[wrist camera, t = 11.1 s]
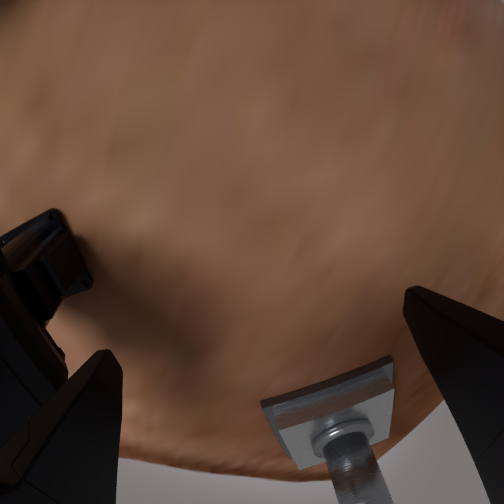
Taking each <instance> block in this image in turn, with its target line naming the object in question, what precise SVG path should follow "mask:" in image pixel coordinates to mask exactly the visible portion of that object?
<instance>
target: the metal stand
mask: <svg viewBox="0 0 504 504" xmlns="http://www.w3.org/2000/svg"><path fill="white" fill-rule="evenodd" d="M392 377H393V360H392V359H391V357H390V356H387V357H384V358H382V359H380V360H377V361H375V362H372V363H370V364H368V365H365V366H363V367H360V368H358V369H355V370H353V371H350V372H347V373H345V374H342V375H339V376H337V377H334V378H331V379H328V380H326V381H323V382H320V383H317V384H314V385H311V386H308V387H305V388H302V389H299V390H296V391H293V392H289V393H286V394H283V395H280V396H276V397H273V398H269V399H266V400H262V401H260V402H261V407H262V410H263V412H264V414H265V416H266V418H267V420H268V421H269V423H270V425H271V427H272V429H273V431H274V433H275V435H276V436H277V438H278V440H279V442H280V444H281V446H282V448H283V449H284V451H285V453H286V455H287V457H288V458H289V459H291V458H293V460H294V462H295V463H296V465H297V467H298V469H299V470H301V469H304V468H307V467H311V466H314V465H317V464H321V463H324V462H326V460H325V459H323V458H318V457H316V456H315V455H314V453H313V450H312V446H311V444H312V441H313V440H314V438H315V437H316V436H317V435H319V434H320V433H321V432H323V431H324V430H326V429H328V428H330V427H332V426H334V425H336V424H339V423H342V422H345V421H349V420H354V419H365V420H368V421H370V422H371V424H372V427H373V429H374V436H373V437H372V439H371V440H370V441H369V443H370V445H373V444H375V443H377V442H380V441H382V440H384V439H387V438H389V432H390V425H391V417H392V409H393V399H394V389H395V388H394V386H393V385H392Z"/></svg>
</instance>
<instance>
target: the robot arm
mask: <svg viewBox="0 0 504 504" xmlns="http://www.w3.org/2000/svg"><path fill="white" fill-rule="evenodd" d="M50 214H53V215H54V219H53V218H52V217H51V215H50ZM3 241H4V242H5V244H4V243H3ZM85 281H87V282H88V283H89V284H87V283H85ZM92 285H93V279H92V277H91V275H90V273H89V272H88V270H87V268H86V266H85V262H84V260H83V258H82V256H81V254H80V252H79V250H78V248H77V246H76V244H75V242H74V240H73V238H72V236H71V234H70V233H68V231H67V229H66V227H65V225H64V223H63V221H62V218H61V216H60V214H59V212H58V211H57V210H56V209H54V208H51V209H49V210H47V211H45V212H43V213H41V214H40V215H38V216H36V217H34V218H32V219H30V220H28V221H27V222H25V223H23V224H21V225H19V226H18V227H16V228H14V229H12V230H11V231H9V232H7V233H6V234H4V235H2V236H1V237H0V504H116V485H117V467H118V454H119V442H120V432H121V422H122V388H123V371H122V368H121V366H120V364H119V363H118V361H117V359H116V358H115V356H114V355H113V353H112V351H111V350H109V349H104V350H98V351H96V352H95V353H94V354H93V355H92V356H91V357H90V358H89V359H88V360H87V361H86V362H85V363H84V364H83V365H82V366H81V367H80V368H79V369H78V370H77V371H76V372H75V373H74V374H73V375H72V376H71V377H70V378H69V379H68V369H67V366H66V363H65V353H64V352H63V351H62V349H61V348H59V347H58V346H57V345H56V343H55V342H54V340H53V339H52V337H51V336H50V334H49V333H48V331H47V330H46V326H47V325H48V323H49V321H50V319H52V318H53V316H54V314H55V312H56V311H57V309H58V307H59V306H60V304H61V302H62V300H63V299H64V298H66V297H69V296H71V295H74V294H77V293H80V292H83V291H86V290H89V289H90V288H91V287H92ZM403 315H404V318H405V320H406V323H407V325H408V327H409V329H410V331H411V334H412V336H413V338H414V341H415V343H416V345H417V348H418V350H419V352H420V354H421V357H422V358H423V360H424V362H425V364H426V366H427V368H428V369H429V371H430V373H431V375H432V377H433V379H434V381H435V382H436V384H437V386H438V388H439V390H440V392H441V394H442V396H443V398H444V400H445V402H446V403H447V405H448V407H449V409H450V411H451V413H452V415H453V417H454V419H455V421H456V423H457V426H458V428H459V430H460V432H461V434H462V436H463V438H464V441H465V443H466V445H467V447H468V449H469V451H470V453H471V456H472V458H473V461H474V462H475V466H476V468H477V470H478V473H479V475H480V478H481V480H482V482H483V485H484V487H485V490H486V493H487V495H488V498H489V500H490V503H491V504H504V321H502V320H500V319H497V318H495V317H493V316H490V315H488V314H486V313H483V312H481V311H479V310H476V309H474V308H472V307H469V306H467V305H465V304H462V303H460V302H458V301H455V300H453V299H450V298H448V297H446V296H443V295H441V294H438V293H436V292H434V291H431V290H429V289H426V288H424V287H421V286H418V285H417V286H413V287H410V288H407V289H406V291H405V297H404V305H403Z"/></svg>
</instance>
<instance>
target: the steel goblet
mask: <svg viewBox="0 0 504 504" xmlns="http://www.w3.org/2000/svg"><path fill="white" fill-rule="evenodd" d="M373 436H374V429H373V427H372V424H371V422H370V421H368V420H365V419H354V420H349V421H345V422H342V423H339V424H336V425H334V426H332V427H330V428H328V429H326V430H324V431H323V432H321V433H320V434H319V435H317V436H316V437H315V438H314V440H313V441H312V444H311V446H312V450H313V453H314V455H315V456H316V457H318V458H323V459H325V460H326V464H327V467H328V470H329V473H330V476H331V480H332V483H333V486H334V489H335V493H336V496H337V499H338V502H339V504H394V503H393V500H392V498H391V495H390V493H389V490H388V488H387V485H386V482H385V480H384V477H383V475H382V473H381V470H380V468H379V465H378V463H377V460H376V458H375V455H374V453H373V451H372V448H371V446H370V443H369V441H370V440H371V439H372V437H373Z"/></svg>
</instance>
